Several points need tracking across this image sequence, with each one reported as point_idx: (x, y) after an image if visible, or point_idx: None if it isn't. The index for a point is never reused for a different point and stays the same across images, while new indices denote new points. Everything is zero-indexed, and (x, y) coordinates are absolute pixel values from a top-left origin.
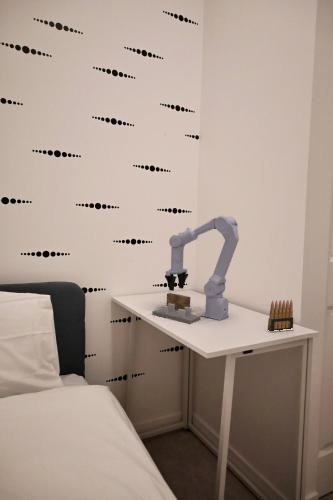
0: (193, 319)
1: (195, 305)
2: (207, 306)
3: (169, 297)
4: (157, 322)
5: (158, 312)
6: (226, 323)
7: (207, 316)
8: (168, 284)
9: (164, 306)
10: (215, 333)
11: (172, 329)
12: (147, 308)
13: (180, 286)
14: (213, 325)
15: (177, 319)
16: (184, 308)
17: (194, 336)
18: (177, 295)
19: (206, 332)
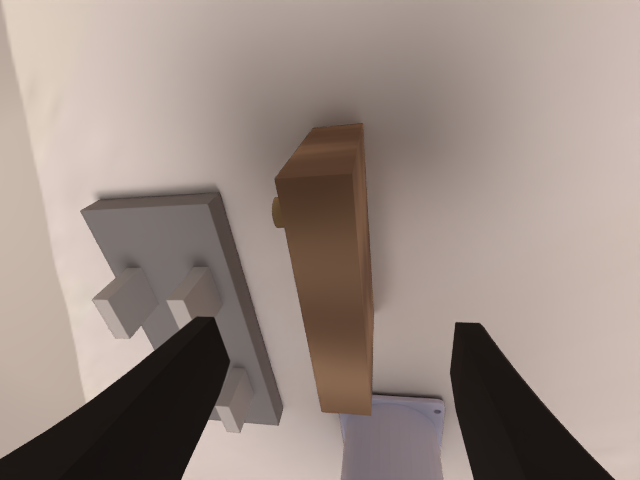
0: (217, 418)
1: (603, 249)
2: (342, 474)
3: (276, 223)
4: (73, 311)
5: (108, 259)
6: (333, 473)
7: (340, 421)
8: (120, 388)
9: (107, 321)
10: (211, 472)
11: (98, 387)
12: (134, 14)
13: (458, 372)
14: (270, 453)
15: None
16: (218, 399)
17: None
18: (313, 322)
19: (192, 457)
